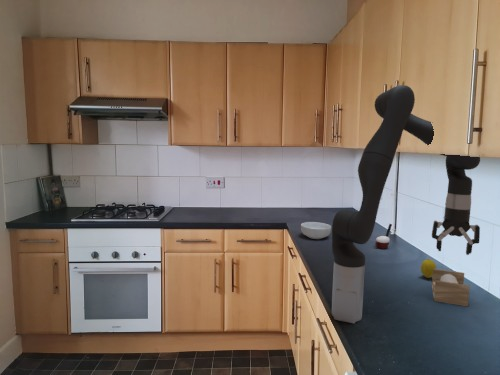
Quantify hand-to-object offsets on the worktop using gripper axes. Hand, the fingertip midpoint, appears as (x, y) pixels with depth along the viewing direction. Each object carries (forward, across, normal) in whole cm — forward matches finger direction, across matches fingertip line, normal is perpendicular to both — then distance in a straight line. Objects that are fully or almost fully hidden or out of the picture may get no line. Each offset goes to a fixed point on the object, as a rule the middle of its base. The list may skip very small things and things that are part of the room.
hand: (453, 252), depth 125 cm
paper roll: (+12, 0, 0) cm, 12 cm away
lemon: (+16, -6, +16) cm, 23 cm away
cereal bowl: (+16, -61, +55) cm, 84 cm away
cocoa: (+16, -25, +50) cm, 59 cm away
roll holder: (+16, 0, 0) cm, 16 cm away
